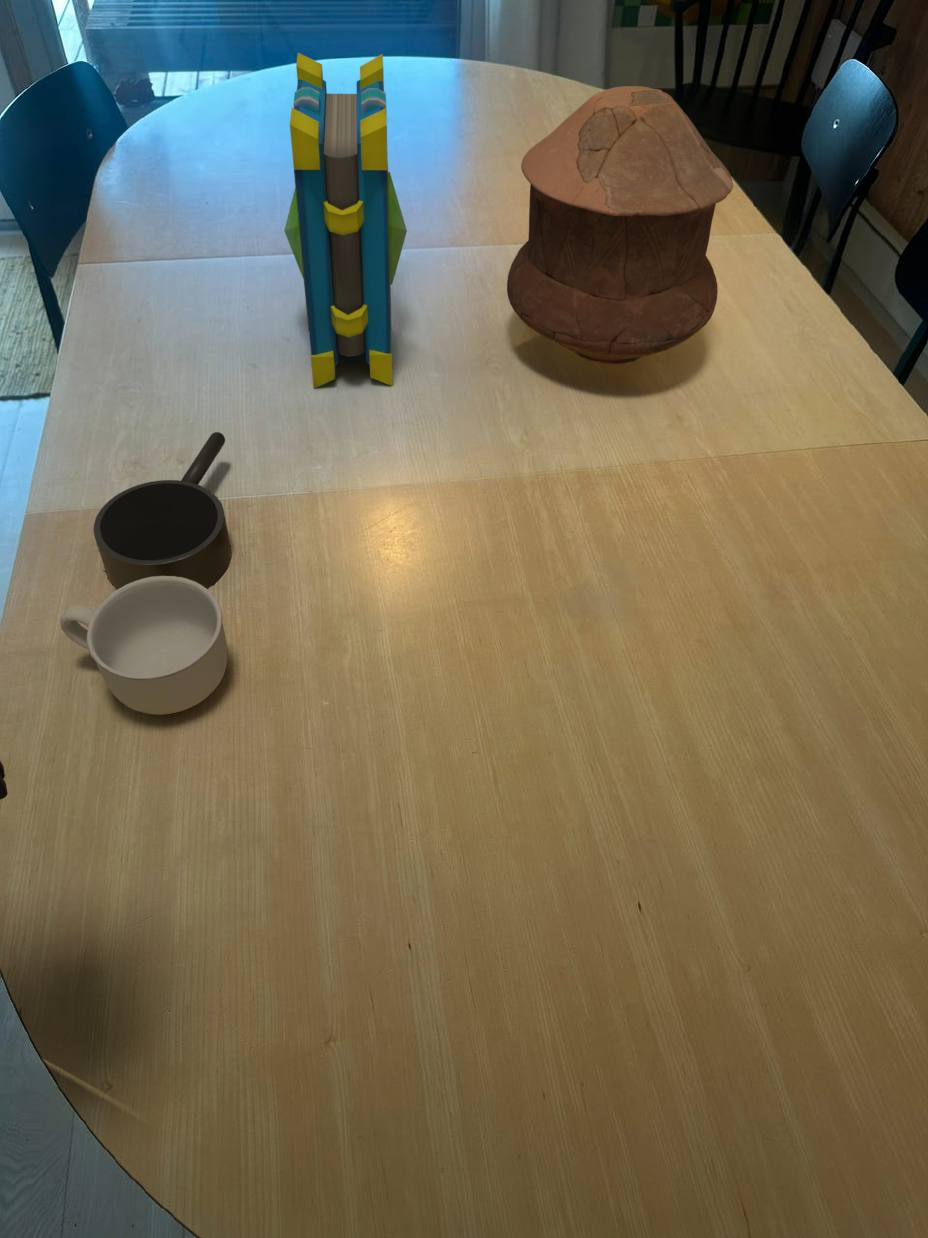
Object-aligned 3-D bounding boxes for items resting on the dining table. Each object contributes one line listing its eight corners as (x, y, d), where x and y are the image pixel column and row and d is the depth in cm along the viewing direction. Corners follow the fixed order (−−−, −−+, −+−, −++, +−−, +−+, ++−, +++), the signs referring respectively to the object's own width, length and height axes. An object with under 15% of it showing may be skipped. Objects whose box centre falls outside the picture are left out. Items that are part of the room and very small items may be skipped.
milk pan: (83, 589, 92) (69, 551, 88) (173, 457, 106) (165, 419, 102) (203, 612, 91) (194, 574, 87) (278, 475, 104) (273, 437, 101)
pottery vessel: (715, 411, 116) (785, 152, 93) (501, 399, 116) (521, 138, 93) (689, 300, 133) (744, 60, 111) (504, 290, 133) (521, 47, 111)
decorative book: (404, 296, 131) (402, 50, 109) (411, 395, 115) (410, 131, 93) (298, 297, 130) (274, 48, 108) (290, 397, 114) (260, 130, 92)
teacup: (257, 660, 87) (246, 598, 81) (188, 751, 80) (171, 690, 74) (127, 612, 90) (107, 549, 84) (50, 696, 83) (23, 634, 78)
